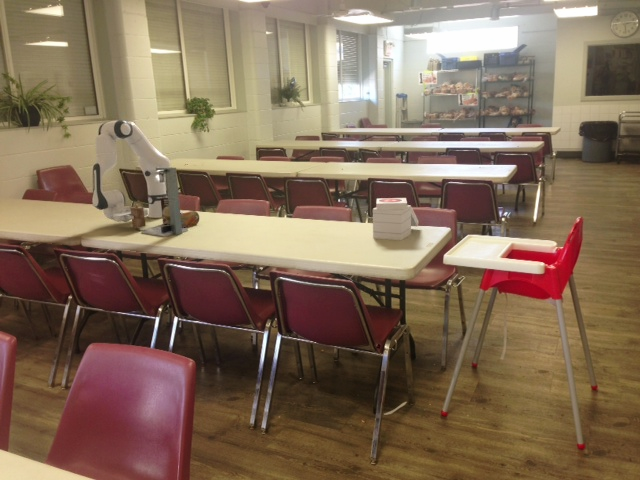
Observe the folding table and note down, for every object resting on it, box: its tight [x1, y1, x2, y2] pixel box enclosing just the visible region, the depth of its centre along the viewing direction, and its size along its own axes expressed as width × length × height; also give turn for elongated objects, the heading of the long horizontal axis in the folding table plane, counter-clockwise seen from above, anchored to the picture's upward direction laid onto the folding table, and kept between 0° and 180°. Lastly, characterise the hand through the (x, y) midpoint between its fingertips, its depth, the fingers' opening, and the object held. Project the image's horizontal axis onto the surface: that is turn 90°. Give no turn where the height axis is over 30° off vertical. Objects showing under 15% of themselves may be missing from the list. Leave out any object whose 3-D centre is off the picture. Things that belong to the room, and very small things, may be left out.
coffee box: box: [161, 196, 171, 225], centre depth 339 cm, size 9×6×16 cm
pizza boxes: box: [372, 197, 420, 241], centre depth 293 cm, size 19×30×18 cm, turn 153°
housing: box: [131, 203, 147, 229], centre depth 325 cm, size 5×5×13 cm
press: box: [141, 166, 189, 238], centre depth 311 cm, size 22×22×36 cm
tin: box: [181, 210, 200, 228], centre depth 331 cm, size 15×3×8 cm, turn 143°
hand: (138, 216), depth 324 cm, fingers closed on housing, 5 cm apart
